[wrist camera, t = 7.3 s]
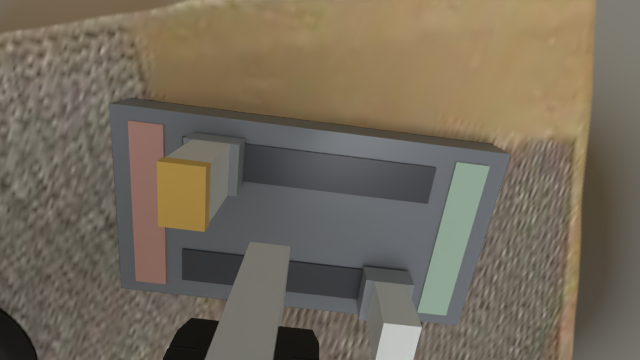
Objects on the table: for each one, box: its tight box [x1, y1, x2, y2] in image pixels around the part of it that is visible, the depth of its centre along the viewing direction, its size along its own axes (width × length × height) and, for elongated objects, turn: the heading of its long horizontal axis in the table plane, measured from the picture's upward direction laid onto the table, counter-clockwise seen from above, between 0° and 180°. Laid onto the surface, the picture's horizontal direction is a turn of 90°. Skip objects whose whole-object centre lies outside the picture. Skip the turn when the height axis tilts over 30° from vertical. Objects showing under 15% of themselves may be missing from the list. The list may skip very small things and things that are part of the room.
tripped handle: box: [157, 132, 245, 232], centre depth 22 cm, size 4×4×7 cm
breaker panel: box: [109, 98, 511, 360], centre depth 26 cm, size 28×15×10 cm, turn 83°
